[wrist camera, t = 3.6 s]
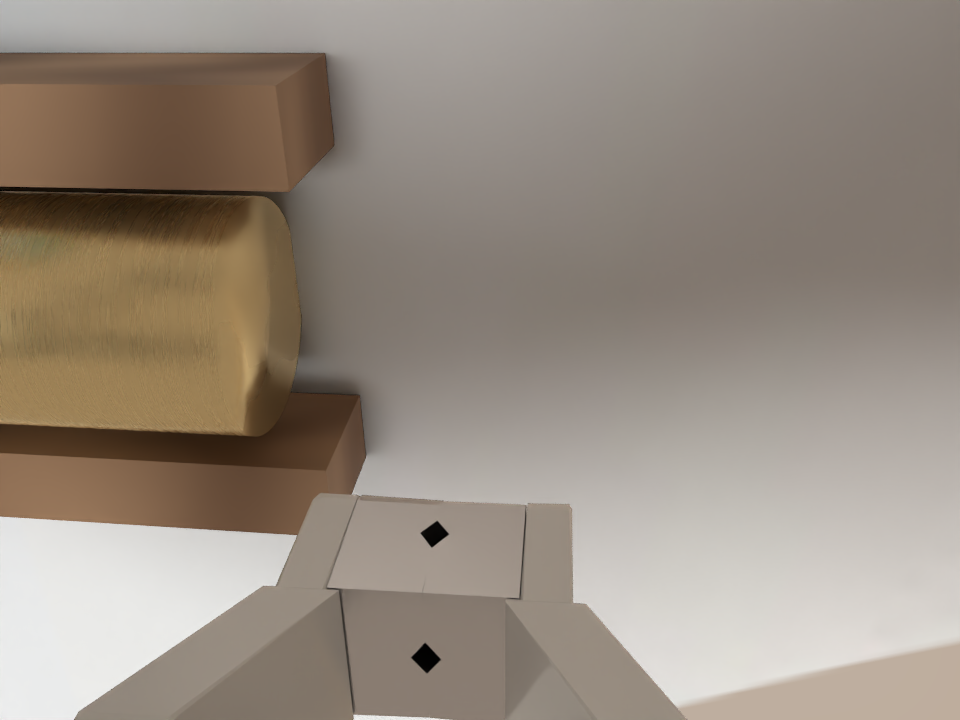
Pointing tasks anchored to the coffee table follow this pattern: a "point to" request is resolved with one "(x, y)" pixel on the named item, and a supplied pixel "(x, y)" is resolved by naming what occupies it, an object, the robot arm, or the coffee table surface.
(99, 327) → the brass rod
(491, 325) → the coffee table surface
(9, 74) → the copper channel
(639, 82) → the coffee table surface
